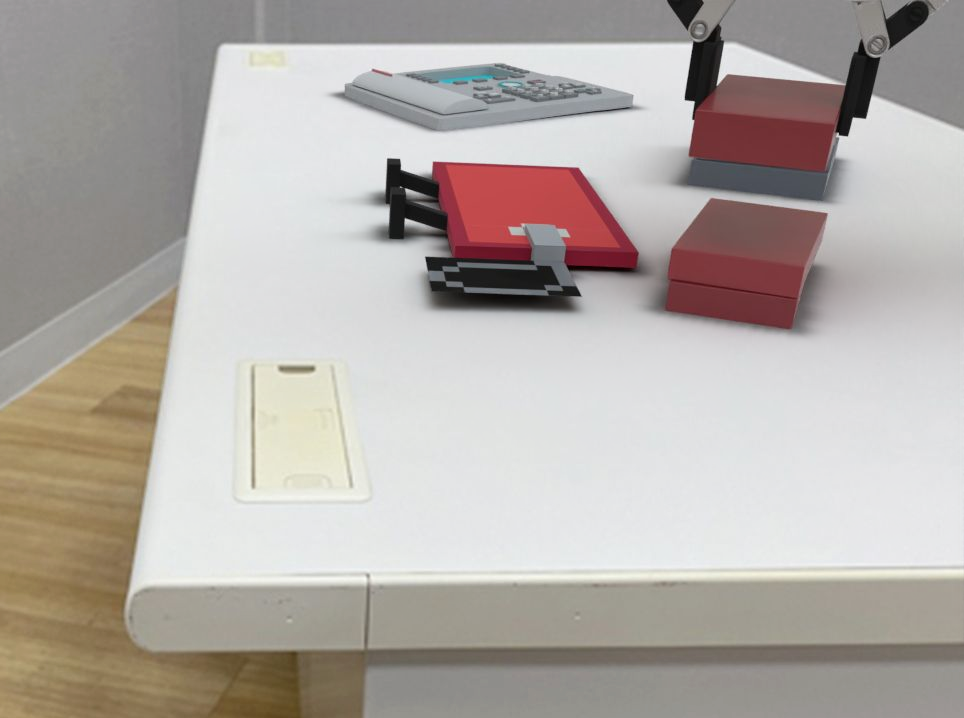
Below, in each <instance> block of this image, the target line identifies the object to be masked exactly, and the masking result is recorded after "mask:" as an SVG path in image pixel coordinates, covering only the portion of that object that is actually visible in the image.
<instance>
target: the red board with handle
mask: <svg viewBox="0 0 964 718" xmlns="http://www.w3.org/2000/svg"><path fill="white" fill-rule="evenodd" d="M385 171H386V173H385V195H384V199H385V204H386V205H389V213H388V214H389V215H388V237H389V239H399V240H400V239H401V240H404V238H405V223H406V220H409V221H412V222H415V223H419V224H422V225H425V226H428V227H431V228H434V229H438V230H441V231H444V232H446V234H447V239H448V243H449V245H450V251H451V254H452V257H450V256H449V257H447V256H446V257H445V256H424V259H425V264H426V270H427V275H428V280H429V286H430V291H431V292H439V293H440V292H441V293H444V292H445V293H448V292H449V293H466V294H467V293H468V294H470V293H471V294H497V295H520V296H521V295H522V296H523V295H524V296H547V297H548V296H551V297H553V296H554V297H577V298H581V297H583V296H582V294H581V291H580V289H579V288H578V286H577V283H576V282H575V280H574V278H573V277H572V273H570V270H569V269H568V266H580V267H582V266H583V267H605V268H606V267H609V268H631V269H632V268H633V269H637V268H638V267H637V266H638V260H639V255H640V253H639V251H638V249H637V248H636V246H635V245H634V243H633V242H632V241H631V239H630V238H629V237H628V235H627V234H626V232H625V231H624V229H623V228H622V227H621V225H620V224H619V222H618V221H617V219H616V218H615V217H614V215H613V214H612V213H611V211H610V210H609V208H608V207H607V205H606V204H605V203H604V201H603V200H602V199H601V197H600V196H599V194H598V193H597V191H596V190H595V188H594V187H593V185H592V184H591V183H590V182H589V180H588V179H587V177H586V176H585V174H584V173H583V172H582V170H581V169H580V167H577V166H575V167H574V166H549V165H527V164H506V163H505V164H502V163H483V162H482V163H479V162H458V161H457V162H453V161H435V160H433V161H432V168H431V176H432V179H430V178H427V177H425V176H422V175H419V174H415V173H412V172H409V171H406V170H403V169H402V161H401V158H391V157H387V158H386V170H385ZM406 189H407V190H409V191H412V192H416V193H419V194H421V195H425V196H428V197H431V198H434V199H437V200H438V203H439V207H440V209H436V208H433V207H430V206H427V205H424V204H421V203H418V202H414V201H411V200H408V199H407V191H406Z"/></svg>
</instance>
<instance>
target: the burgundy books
mask: <svg viewBox="0 0 964 718" xmlns="http://www.w3.org/2000/svg"><path fill="white" fill-rule="evenodd" d="M828 216H829V213H828V212H823V211H817V210H816V211H815V210H814V211H813V210H807V209H800V208H799V209H798V208H794V207H793V208H792V207H784V206H777V205H769V204H761V203H753V202H745V201H739V200H738V201H737V200H731V199H722V198H716V197H710V198H709V200H708V201H706V204H705V205H704V206H703V208H702V209H701V210H700V211H699V213H698V214H697V215H696V217H694V219H693V220H692V221H691V223H690V224H689V225H688V227H687V228H686V230H685V231H684V232H683V233H682V234H681V236H680V237H679V238H678V240H677V241H676V242H675V244H674V245H673V246H672V248H671V251H670V257H669V264H668V269H667V274H666V275H667V276H666V278H667V280H670V281H669V282H668V288H667V294H666V300H665V307H664V311H665V312H671V313H678V314H685V315H691V316H697V317H698V316H699V317H705V318H711V319H712V318H713V319H719V320H724V321H731V322H738V323H745V324H751V325H758V326H764V327H771V328H777V329H783V330H792V328H793V325H794V323H795V322H794V321H795V320H796V319H795V318H796V315H797V311H798V308H799V304H800V301H801V298H802V294H803V290H804V288H805V287H804V286H805V285H806V284H805V283H806V281H807V279H808V275H809V273H810V270H811V268H812V266H813V263H814V261H815V259H816V256H817V255H818V253H819V249H820V247H821V244H822V242H823V238H824V235H825V229H826V225H827V222H828V221H827V220H828Z"/></svg>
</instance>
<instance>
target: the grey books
mask: <svg viewBox="0 0 964 718" xmlns="http://www.w3.org/2000/svg"><path fill="white" fill-rule="evenodd" d="M839 142H840V136H836V139H835V142H834V145H833V148H832V151H831V155H830V158H829V161H828V164H827V167H826V170H825V172H818V171H809V170H800V169H792V168H783V167H774V166H766V165H757V164H748V163H739V162H731V161H722V160H713V159H705V158H696V157H692V159H691V161H690V167H689V174H688V181H687V186H693V187H703V188H710V189H711V188H712V189H720V190H728V191H736V192H744V193H753V194H761V195H769V196H780V197H788V198H795V199H796V198H797V199H802V200H803V199H804V200H813V201H821V202H822V201H823V200H824V196H825V193H826V189H827V187H828V183H829V180H830V176H831V173H832V171H833V168H834V167H833V166H834V163H835V160H836V155H837V151H838V146H839Z"/></svg>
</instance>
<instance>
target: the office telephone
mask: <svg viewBox="0 0 964 718" xmlns="http://www.w3.org/2000/svg"><path fill="white" fill-rule="evenodd" d="M344 97H345V98H348V99H351V100H353V101H356V102H359V103H361V104H364V105H366V106H370V107H373V108H375V109H377V110H379V111H383V112H385V113H388V114H390V115H394V116H396V117H398V118H402V119H404V120H408V121H411V122H413V123H416V124H419V125H422V126H424V127H427V128H430V129H433V130H435V131H448V130H456V129H465V128H466V129H467V128H473V127H475V128H476V127H484V126H491V125H500V124H507V123H514V122H515V123H516V122H522V121H523V122H524V121H531V120H538V119H543V118H544V119H545V118H551V117H553V118H554V117H559V116H567V115H575V114H576V115H577V114H582V113H590V112H598V111H609V110H616V109H623V108H631V107H633V103H634V94H632V93H629V92H626V91H622V90H618V89H614V88H609V87H605V86H601V85H599V84H593V83H590V82H587V81H586V82H585V81H581V80H577V79H575V78H570V77H566V76H561V75H549V74H545V73H540V72H536V71H532V70H528V69H524V68H519V67H516V66H514V65H513V66H512V65H510V64H509V65H508V64H506V63H504V62H493V63H483V64H472V65H462V66H453V67H442V68H432V69H431V68H430V69H423V70H422V69H421V70H412V71H403V72H396V73H395V72H394V73H393V72H389V71H385V70H379V69H376V68H371V70H370V71H365V72H363V73H361V74H359V75H357V76H356V77H355V78H354V79H353V80H352V82H348V83H344Z"/></svg>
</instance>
